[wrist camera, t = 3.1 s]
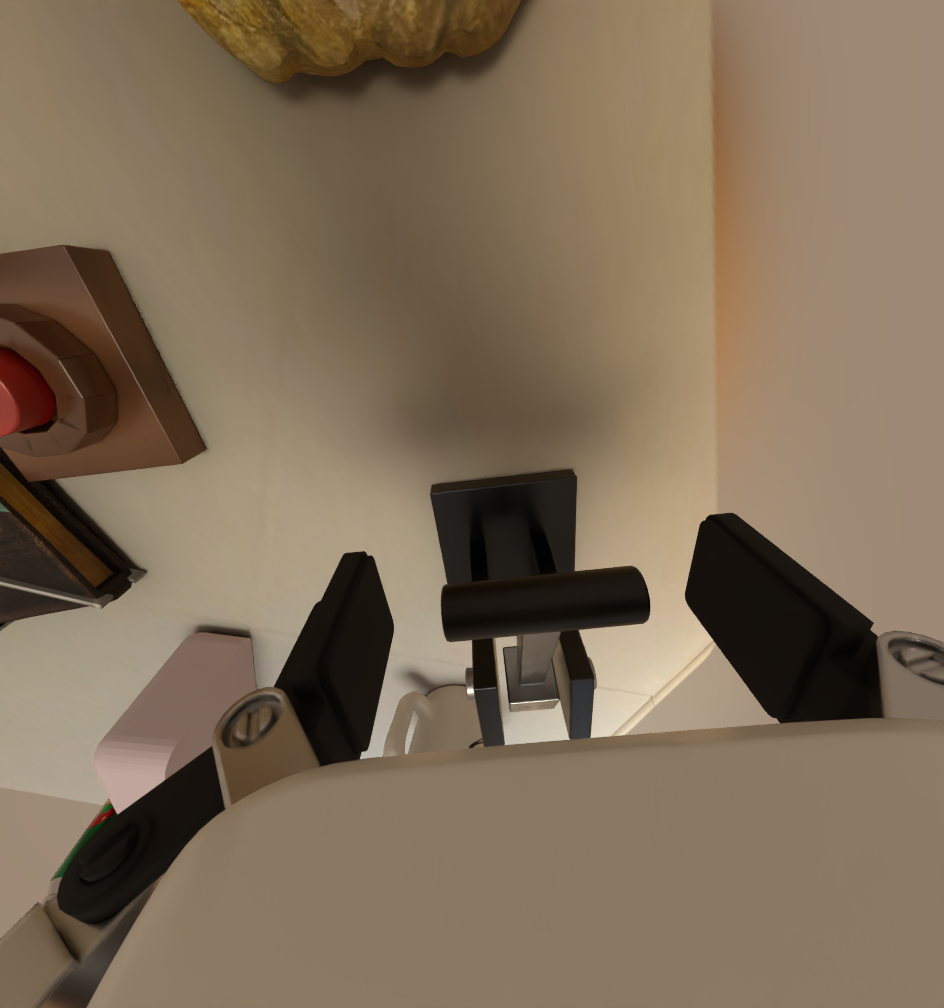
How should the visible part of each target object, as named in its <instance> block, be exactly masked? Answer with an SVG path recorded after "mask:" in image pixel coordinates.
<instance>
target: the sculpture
mask: <svg viewBox="0 0 944 1008" xmlns="http://www.w3.org/2000/svg"><path fill="white" fill-rule="evenodd" d="M178 2H179V3H180V4H181V5H182V7H183V8H184V9H185V10H186V12H187V13H188V14H189V15H190V16H191V17H192V18H193V19H194V21H195V22H196V23H197V24H198V25H199V26H200V27H201V28H202V29H203V30H204V31H205V32H206V33H207V34H208V35H209V36H210V37H211V38H212V39H214V40H215V41H216V42H217V43H218V44H219V45H220V46H221V47H223V48H224V49H225V50H226V51H227V52H229V53H230V54H231V55H233V56H234V57H235V58H237V59H238V60H240V61H241V62H242V63H244V64H245V65H246V66H247V67H248V68H249V69H250V70H251V71H253V72H254V73H255V74H256V75H258V76H259V77H261V78H262V79H264V80H265V81H267V82H269V83H271V84H277V83H284V82H286V81H288V80H289V79H290V78H291V77H292V76H293V75H294V74H295V73H298V72H303V73H306V74H312V75H321V76H339V75H343V74H346V73H349V72H352V71H353V70H354V69H356V68H357V67H359V66H360V65H361V64H363V63H364V62H365V61H368V60H373V59H378V58H384V59H386V60H388V61H389V62H391V63H392V64H394V65H396V66H403V67H421V66H425V65H429V64H432V63H433V62H434V61H435V60H437V59H438V58H439V57H440V56H441V55H443V54H444V53H445V52H451V53H453V54H455V55H457V56H459V57H468V56H473V55H477V54H479V53H481V52H483V51H485V50H487V49H488V48H490V47H491V46H492V45H493V44H495V43H496V42H497V41H498V40H500V38H501V37H502V35H503V34H504V32H505V31H506V29H507V27H508V25H509V23H510V21H511V19H512V17H513V16H514V14H515V12H516V10H517V8H518V6H519V4H520V2H521V0H178Z"/></svg>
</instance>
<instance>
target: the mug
mask: <svg viewBox="0 0 944 1008" xmlns="http://www.w3.org/2000/svg"><path fill="white" fill-rule="evenodd" d="M413 710H414V711H415V712H416V713H417V715H418V720H417V723H416V727H415V730H414V734H413V737H412V741H411V744H410V748H409V752H408V754H414V753H424V752H433V751H445V750H456V749H468V748H480V747H484V745H483V740H482V735H481V729H480V724H479V718H478V713H477V707H476V702H475V700H468V698H467V692H466V686H460V685H451V686H445V687H441V688H438V689H436V690H434V691H432V692H431V693H429V694H428V696H427V697H425V696H424V695H423V694H421V693H419V692H411V693H409V694H407V695H405V696H404V697H402V698H401V700H400V701H399V704H398V706H397V709H396V712H395V716H394V719H393V721H392V724H391V727H390V729H389V732H388V735H387V738H386V741H385V745H384V751H383V757H386V756H395V755H405V740H406V735H407V732H408V728H409V724H410V720H411V717H412V712H413Z"/></svg>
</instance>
